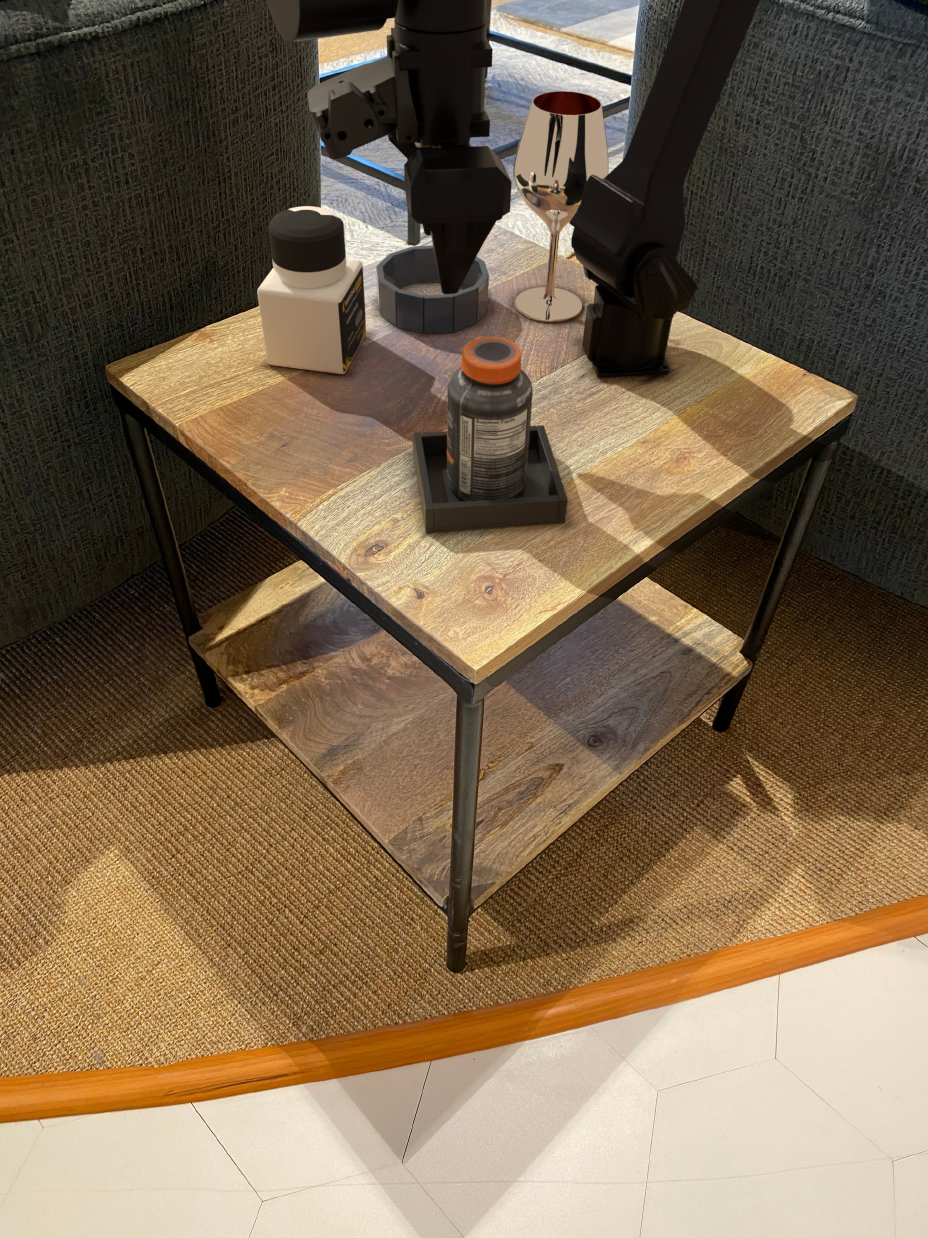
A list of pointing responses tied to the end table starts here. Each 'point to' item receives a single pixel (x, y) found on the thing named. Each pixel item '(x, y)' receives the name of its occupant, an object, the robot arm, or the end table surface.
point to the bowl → (428, 309)
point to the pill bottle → (488, 421)
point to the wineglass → (558, 182)
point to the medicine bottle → (311, 293)
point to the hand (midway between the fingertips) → (440, 262)
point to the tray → (451, 513)
